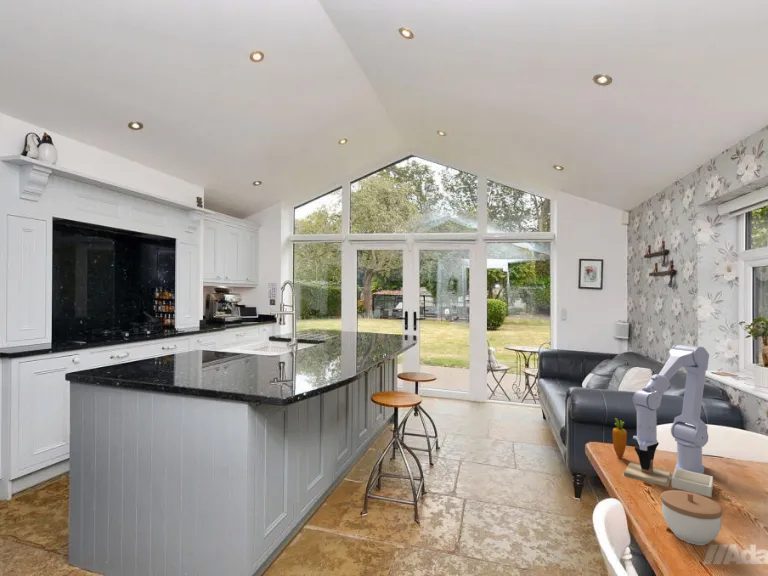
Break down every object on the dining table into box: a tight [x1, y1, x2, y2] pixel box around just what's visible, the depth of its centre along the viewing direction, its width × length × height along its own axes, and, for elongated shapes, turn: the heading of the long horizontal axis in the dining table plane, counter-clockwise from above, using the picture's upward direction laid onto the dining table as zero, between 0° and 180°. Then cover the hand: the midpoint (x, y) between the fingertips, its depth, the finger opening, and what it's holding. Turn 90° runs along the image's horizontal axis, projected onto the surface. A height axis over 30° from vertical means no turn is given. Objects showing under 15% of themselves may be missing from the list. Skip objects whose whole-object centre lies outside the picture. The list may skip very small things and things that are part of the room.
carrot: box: [612, 417, 628, 459], centre depth 157 cm, size 5×5×15 cm
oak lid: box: [623, 459, 672, 487], centre depth 141 cm, size 12×12×5 cm
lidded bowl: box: [660, 489, 723, 546], centre depth 105 cm, size 13×13×11 cm
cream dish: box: [671, 467, 714, 498], centre depth 132 cm, size 10×10×4 cm
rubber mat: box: [621, 472, 673, 488], centre depth 141 cm, size 13×13×1 cm
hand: (647, 465), depth 141 cm, fingers open, 7 cm apart
